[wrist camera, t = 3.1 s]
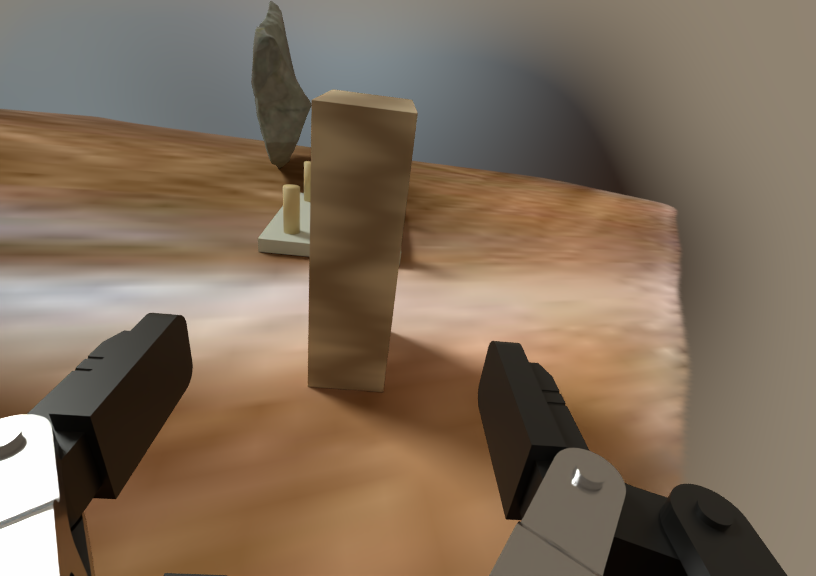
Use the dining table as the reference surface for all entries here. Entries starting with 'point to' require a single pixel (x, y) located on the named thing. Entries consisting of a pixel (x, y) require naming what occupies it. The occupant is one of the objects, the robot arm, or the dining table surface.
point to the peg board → (291, 222)
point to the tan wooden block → (356, 233)
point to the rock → (277, 89)
